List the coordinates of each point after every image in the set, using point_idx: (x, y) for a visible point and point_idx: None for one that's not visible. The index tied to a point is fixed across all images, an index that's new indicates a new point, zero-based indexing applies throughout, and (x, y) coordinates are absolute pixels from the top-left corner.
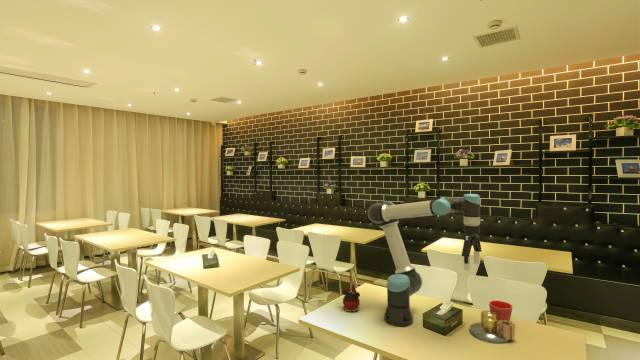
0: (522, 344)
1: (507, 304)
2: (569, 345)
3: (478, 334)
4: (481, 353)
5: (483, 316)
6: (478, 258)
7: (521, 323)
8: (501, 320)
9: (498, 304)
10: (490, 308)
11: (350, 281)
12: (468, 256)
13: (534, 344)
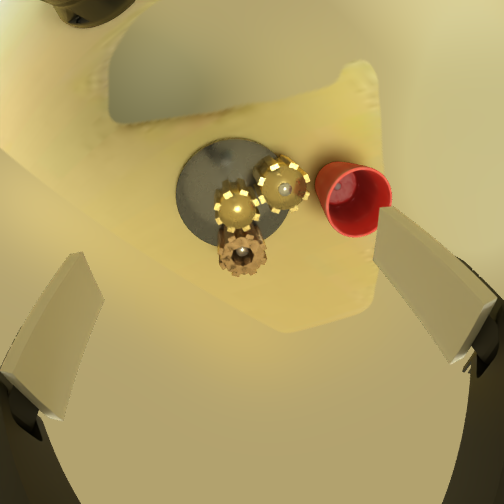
0: None
1: None
2: (310, 316)
3: (183, 187)
4: (116, 230)
5: (258, 177)
6: (408, 298)
7: None
8: (254, 240)
9: (380, 184)
10: (334, 174)
11: None
12: (28, 422)
13: (263, 281)
